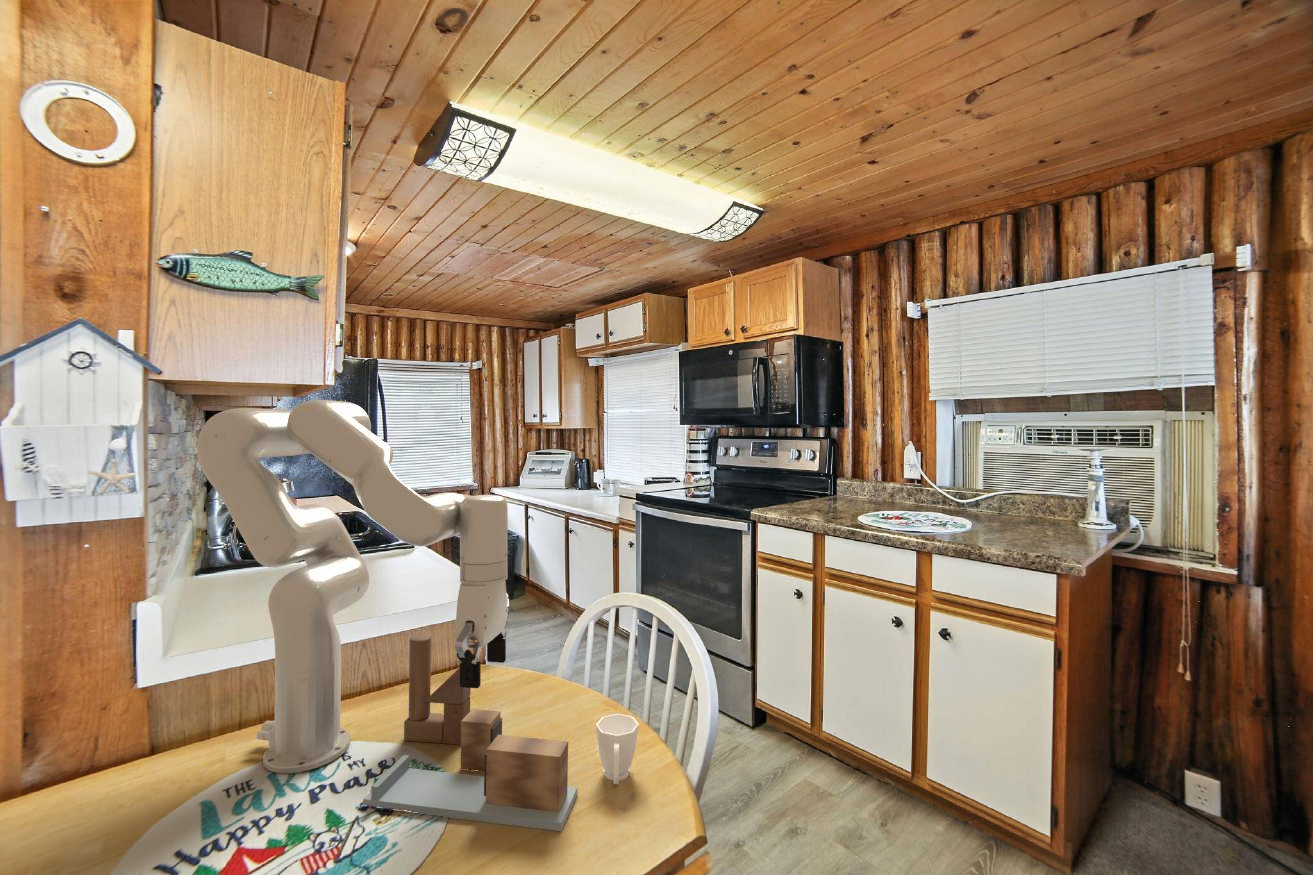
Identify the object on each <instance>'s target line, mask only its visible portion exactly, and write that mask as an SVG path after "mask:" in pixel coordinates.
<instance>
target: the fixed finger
mask: <svg viewBox="0 0 1313 875" xmlns="http://www.w3.org/2000/svg"><path fill="white" fill-rule="evenodd" d="M568 770H569V741H567V740H566V741H564V740H556V739H555V740H554V739H546V738H536V737H525V736H517V735H508V734H507V735H505V734H502V735H497V737H496V738H495V739H494V741H493V742H492V743H491V744H490V746H489V747H488V748H487V753H486V754H485V757H484V772H483V773H484V774H483V777H484V796H486V804H491V805H500V806H508V807H517V808H525V809H534V810H542V811H550V812H559V811H560V809H561V807H562V805H563V803H564V801H565V799H566V796H567V786H568V784H569V783H568V777H569V775H568V772H569V771H568Z"/></svg>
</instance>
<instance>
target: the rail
mask: <svg viewBox="0 0 1313 875" xmlns="http://www.w3.org/2000/svg"><path fill="white" fill-rule="evenodd" d="M370 790H371V791H369V793H368V794H367V795H365V796H364V798H363V799H362V806H363V805H371V806H379V807H382V808H391V809H392V808H393V809H398V810H407V811H411V812H418V813H423V814H427V815H426V816H431V815H438V816H437V817H440V816H445V817H444V818H448V817H450V818H449V819H455V820H456V819H458V820H467V821H473V822H481V823H482V822H483V823H488V824H489V823H490V824H498V825H505V826H512V827H520V828H521V827H523V828H530V829H537V830H538V829H539V830H548V831H553V832H554V831H555V832H563V828H564V826H565V825H566V821H567V819H568V817H569V815H570V813H571V811H572V809H573V806H574V804H575V801H576V799H577V798H578V797H577V796H578V786H572V785H567V796H566V799H565V801H564V803H563V805H562V807H561V809H560V811H559V812H550V811H542V810H534V809H525V808H517V807H508V806H500V805H491V804H486V796H484V775H483V776H482V775H473V774H464V773H455V772H446V771H437V770H429V769H428V770H427V769H419V768H412V767H410V755H406V754H405V755H402V756H401V757H399V759H398V760H397V761H396V762H394V764H392V765H391V767H389V769H388V770H386V771H385V773H384V774H382V775H381V777H380V778H378V779H377V780H376V781H375V782H374V783H373V784H372V785H371V789H370ZM423 814H422V815H423Z"/></svg>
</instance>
